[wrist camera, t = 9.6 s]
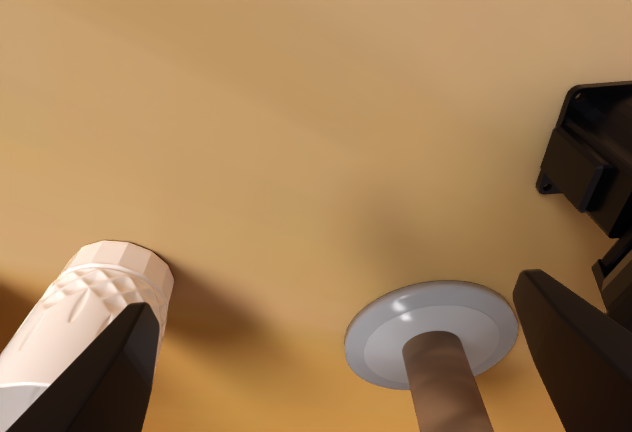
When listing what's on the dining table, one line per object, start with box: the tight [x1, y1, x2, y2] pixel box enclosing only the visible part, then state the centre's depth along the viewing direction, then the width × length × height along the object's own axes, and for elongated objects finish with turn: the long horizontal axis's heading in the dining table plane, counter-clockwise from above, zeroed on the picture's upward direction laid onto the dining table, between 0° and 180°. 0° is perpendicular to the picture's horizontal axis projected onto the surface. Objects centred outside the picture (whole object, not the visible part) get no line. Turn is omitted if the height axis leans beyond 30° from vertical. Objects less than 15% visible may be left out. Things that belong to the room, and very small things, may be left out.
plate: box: [344, 280, 518, 390], centre depth 33 cm, size 14×14×1 cm
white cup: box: [0, 240, 174, 432], centre depth 24 cm, size 8×8×10 cm
